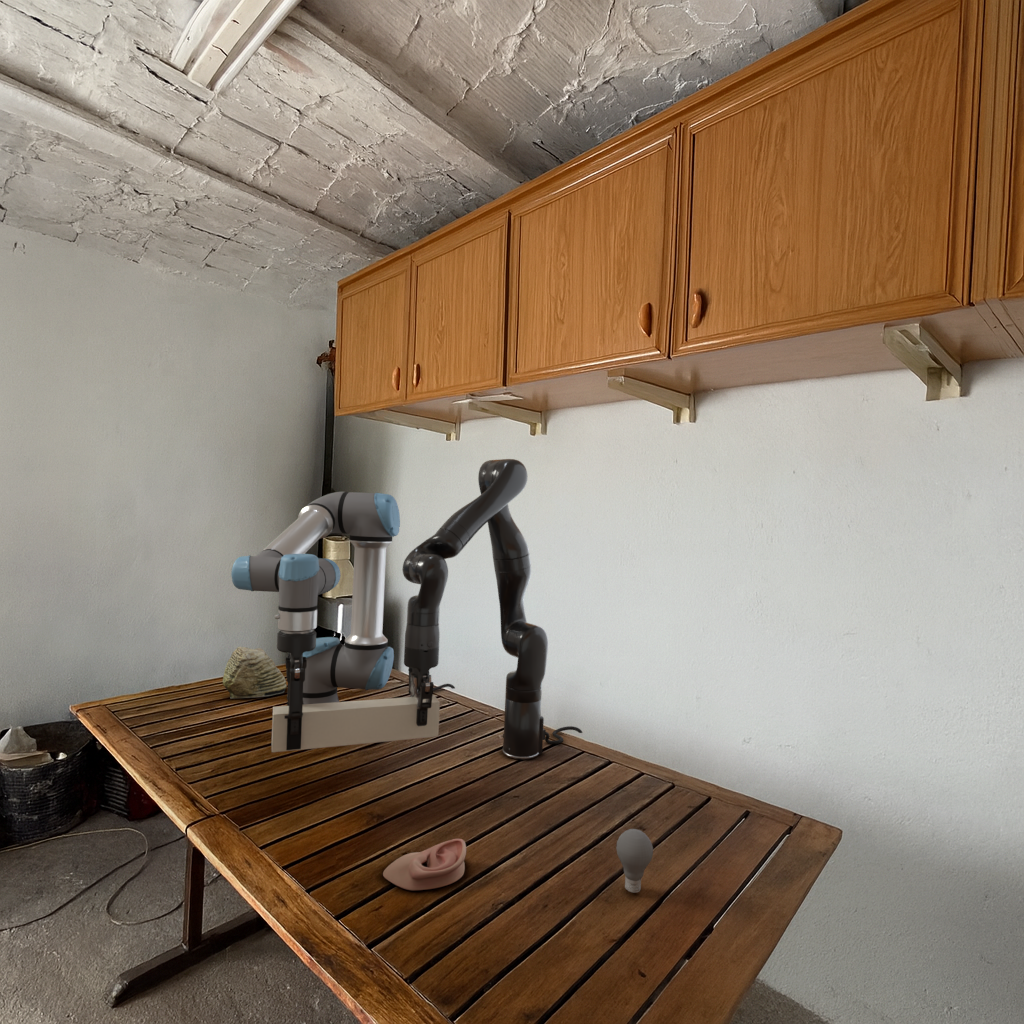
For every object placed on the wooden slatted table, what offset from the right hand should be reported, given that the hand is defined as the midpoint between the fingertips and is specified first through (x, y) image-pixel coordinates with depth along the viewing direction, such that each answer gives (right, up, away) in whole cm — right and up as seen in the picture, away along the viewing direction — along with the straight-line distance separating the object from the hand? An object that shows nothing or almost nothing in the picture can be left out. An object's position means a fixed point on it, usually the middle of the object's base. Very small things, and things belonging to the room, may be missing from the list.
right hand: (418, 720), depth 139 cm
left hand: (-24, -2, -9) cm, 26 cm away
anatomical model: (+6, -16, -30) cm, 35 cm away
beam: (-12, -3, -5) cm, 13 cm away
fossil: (-60, -11, +59) cm, 85 cm away
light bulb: (+41, -18, -33) cm, 55 cm away
